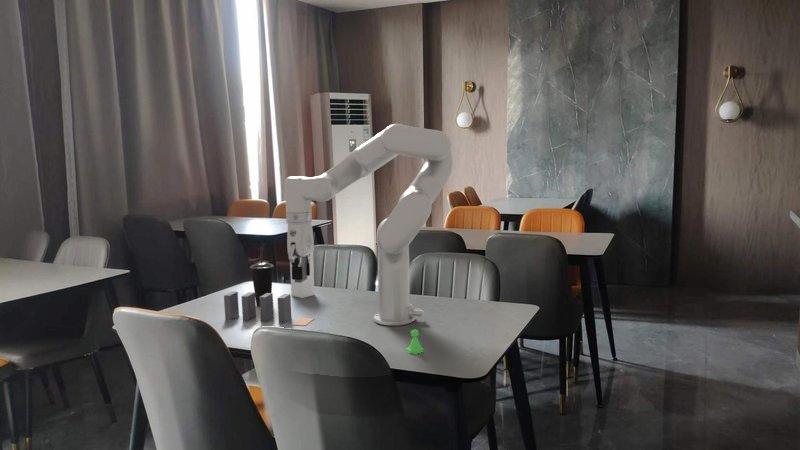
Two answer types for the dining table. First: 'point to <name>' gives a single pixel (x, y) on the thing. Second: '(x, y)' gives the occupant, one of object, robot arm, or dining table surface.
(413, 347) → the game piece
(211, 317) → the dining table surface
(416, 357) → the dining table surface
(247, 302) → the domino
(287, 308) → the domino
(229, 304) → the domino
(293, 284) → the milk
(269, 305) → the domino
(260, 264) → the drinking cup
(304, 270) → the domino
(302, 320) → the head marker
